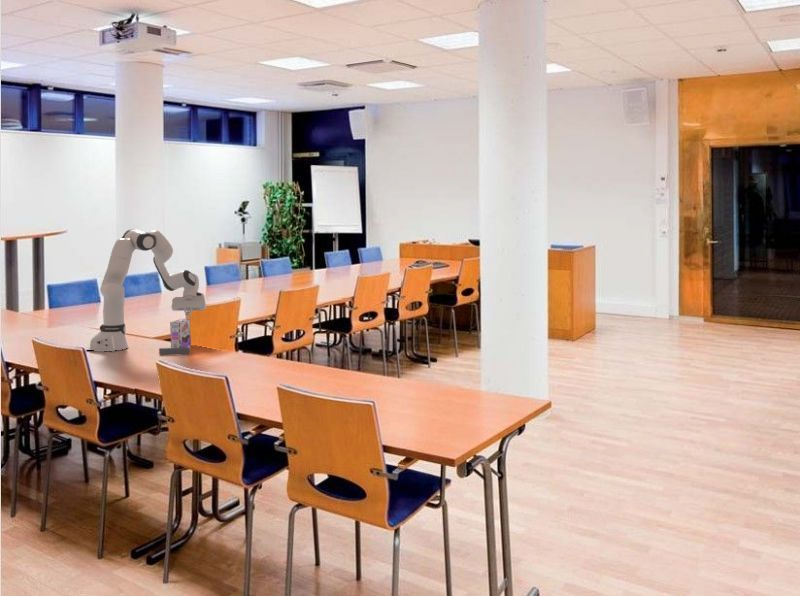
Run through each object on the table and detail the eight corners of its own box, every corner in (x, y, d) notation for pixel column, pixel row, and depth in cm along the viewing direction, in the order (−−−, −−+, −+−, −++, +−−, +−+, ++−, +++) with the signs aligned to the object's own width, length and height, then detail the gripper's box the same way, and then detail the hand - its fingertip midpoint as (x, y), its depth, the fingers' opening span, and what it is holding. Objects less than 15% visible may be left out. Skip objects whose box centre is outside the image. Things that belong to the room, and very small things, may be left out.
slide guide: (159, 354, 407) (159, 348, 407) (166, 348, 426) (166, 342, 425) (189, 354, 409) (188, 348, 408) (195, 347, 427) (194, 341, 427)
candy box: (180, 350, 418) (179, 322, 416) (170, 350, 419) (169, 321, 417) (191, 346, 432) (190, 318, 430) (182, 345, 433) (181, 318, 431)
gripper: (171, 294, 452) (169, 312, 444) (205, 293, 454) (203, 311, 446) (173, 300, 457) (171, 318, 449) (207, 299, 459) (205, 317, 451)
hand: (187, 315), depth 447 cm, fingers closed
